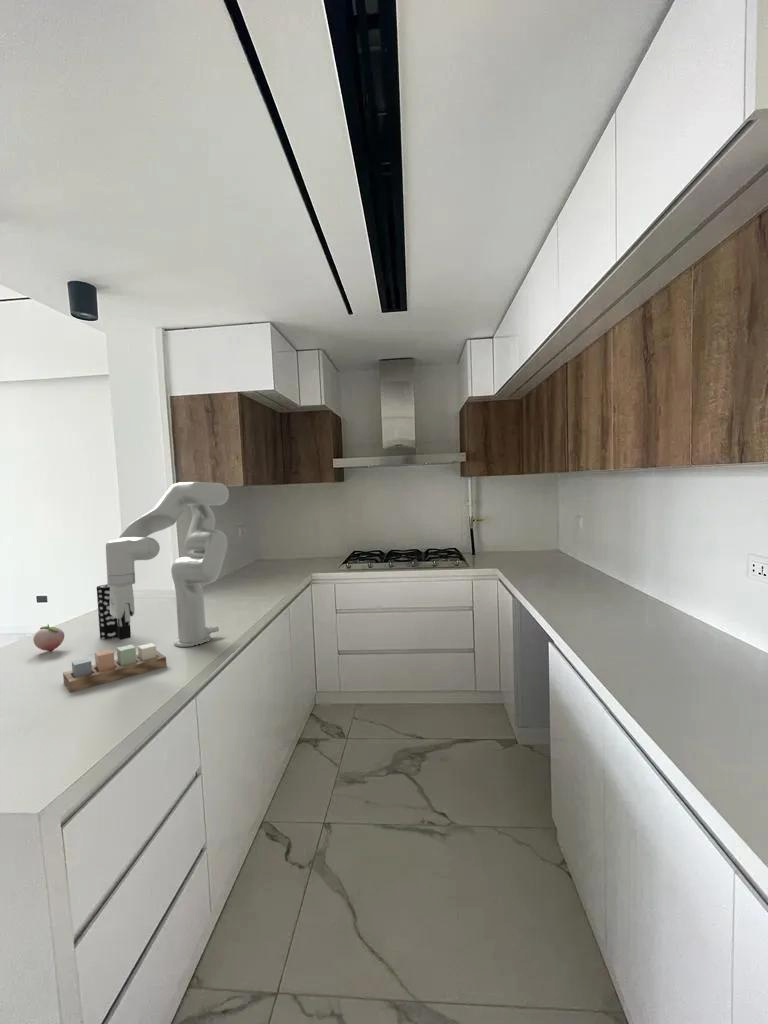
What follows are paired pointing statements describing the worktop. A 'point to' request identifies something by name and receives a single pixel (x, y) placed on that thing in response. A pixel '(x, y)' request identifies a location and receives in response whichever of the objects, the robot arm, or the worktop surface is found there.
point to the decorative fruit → (48, 638)
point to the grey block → (81, 667)
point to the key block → (113, 672)
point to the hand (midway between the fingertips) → (124, 638)
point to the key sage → (126, 655)
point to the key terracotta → (104, 660)
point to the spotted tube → (106, 614)
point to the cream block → (147, 651)
